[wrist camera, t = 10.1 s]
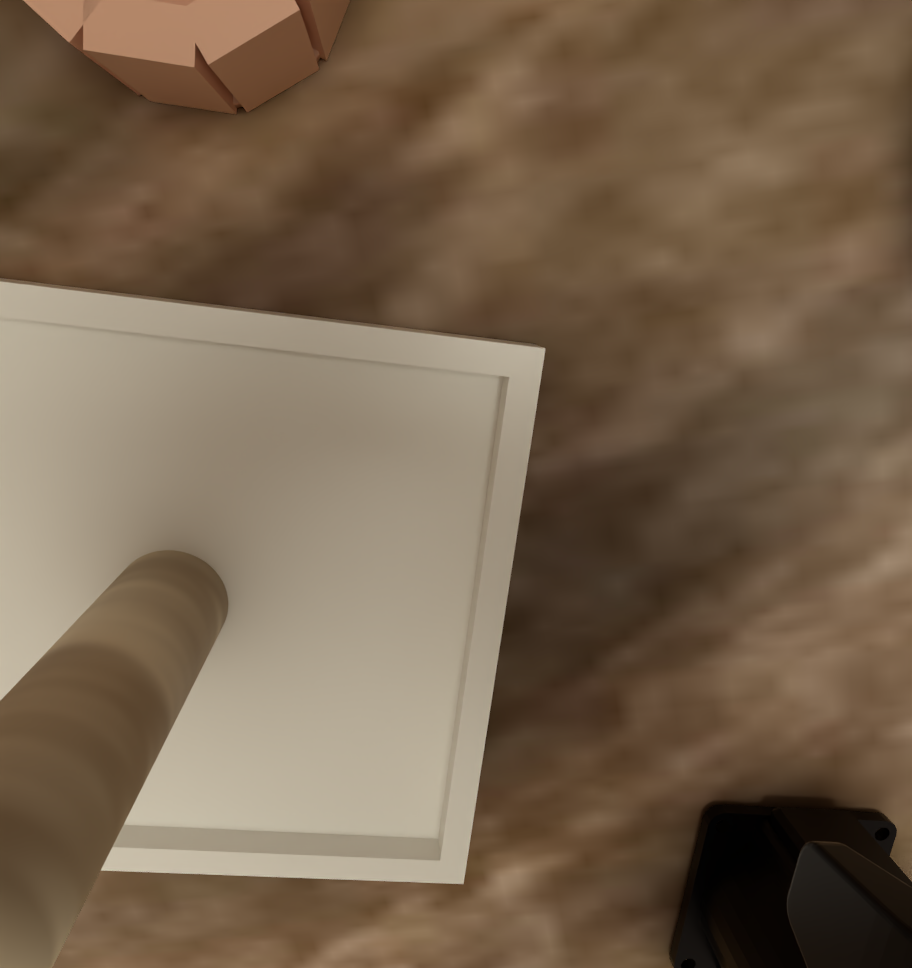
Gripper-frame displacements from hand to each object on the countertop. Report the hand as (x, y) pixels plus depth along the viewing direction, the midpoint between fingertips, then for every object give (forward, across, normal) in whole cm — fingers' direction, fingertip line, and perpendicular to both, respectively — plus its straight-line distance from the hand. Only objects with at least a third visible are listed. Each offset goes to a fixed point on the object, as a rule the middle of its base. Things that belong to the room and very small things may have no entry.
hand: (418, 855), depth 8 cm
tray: (+13, +6, +3) cm, 15 cm away
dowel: (+12, +6, +3) cm, 14 cm away
